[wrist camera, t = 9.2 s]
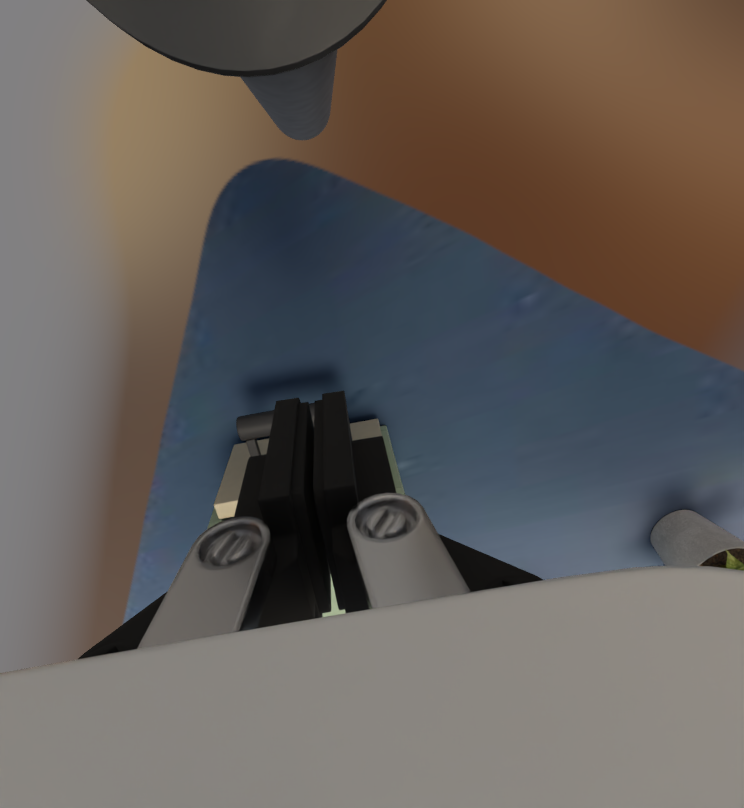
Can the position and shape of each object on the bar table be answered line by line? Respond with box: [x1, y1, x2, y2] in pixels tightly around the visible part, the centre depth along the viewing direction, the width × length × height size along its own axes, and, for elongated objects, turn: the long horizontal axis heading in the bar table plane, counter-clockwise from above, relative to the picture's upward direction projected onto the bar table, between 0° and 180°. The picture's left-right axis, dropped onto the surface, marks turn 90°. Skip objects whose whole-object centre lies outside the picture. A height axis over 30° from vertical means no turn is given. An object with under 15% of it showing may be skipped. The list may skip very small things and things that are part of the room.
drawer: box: [214, 403, 382, 519], centre depth 36 cm, size 18×11×8 cm, turn 9°
